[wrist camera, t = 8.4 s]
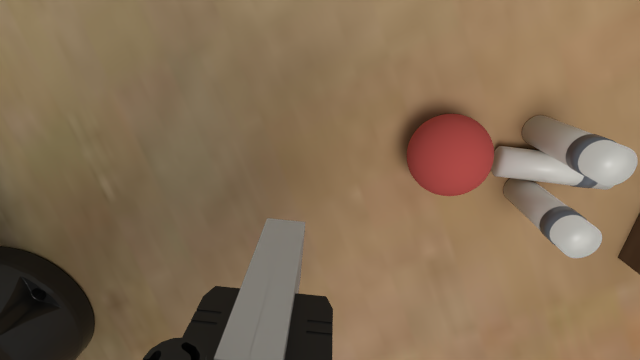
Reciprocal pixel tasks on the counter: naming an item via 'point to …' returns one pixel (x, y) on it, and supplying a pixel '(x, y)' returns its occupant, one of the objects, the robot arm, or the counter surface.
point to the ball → (450, 154)
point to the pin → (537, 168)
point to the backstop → (632, 248)
